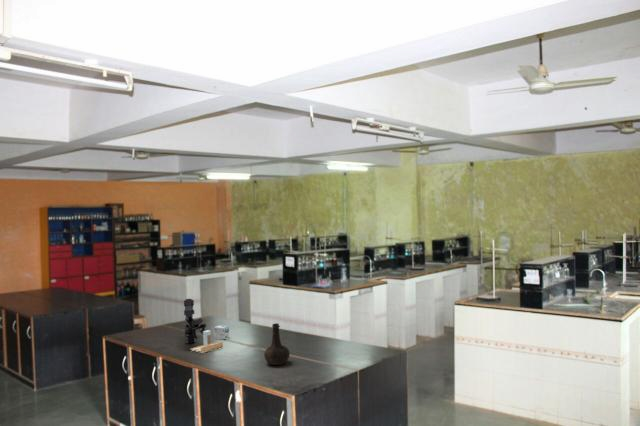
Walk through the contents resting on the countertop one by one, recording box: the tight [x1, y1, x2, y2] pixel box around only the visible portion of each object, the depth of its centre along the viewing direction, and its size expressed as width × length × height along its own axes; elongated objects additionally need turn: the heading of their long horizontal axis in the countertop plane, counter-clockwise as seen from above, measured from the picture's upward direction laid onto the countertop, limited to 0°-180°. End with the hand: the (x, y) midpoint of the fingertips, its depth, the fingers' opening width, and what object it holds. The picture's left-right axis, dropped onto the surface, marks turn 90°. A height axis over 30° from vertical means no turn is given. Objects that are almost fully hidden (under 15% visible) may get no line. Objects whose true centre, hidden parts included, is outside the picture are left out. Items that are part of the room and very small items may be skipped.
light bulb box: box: [214, 325, 230, 340], centre depth 439 cm, size 11×7×11 cm, turn 65°
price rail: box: [201, 341, 224, 352], centre depth 400 cm, size 1×20×3 cm, turn 138°
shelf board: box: [189, 342, 224, 354], centre depth 405 cm, size 16×20×2 cm
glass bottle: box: [263, 323, 290, 366], centre depth 359 cm, size 18×18×28 cm
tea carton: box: [202, 329, 212, 347], centre depth 404 cm, size 4×4×13 cm
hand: (201, 337), depth 408 cm, fingers open, 9 cm apart
